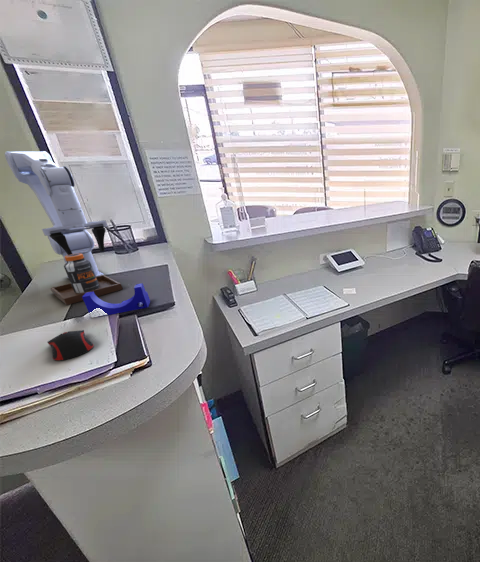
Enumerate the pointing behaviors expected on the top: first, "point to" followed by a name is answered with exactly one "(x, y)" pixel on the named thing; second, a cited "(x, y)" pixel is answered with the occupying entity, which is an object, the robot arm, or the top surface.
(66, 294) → the desk tray
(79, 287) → the pill bottle
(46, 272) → the top surface
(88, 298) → the blue curved cradle
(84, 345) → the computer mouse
